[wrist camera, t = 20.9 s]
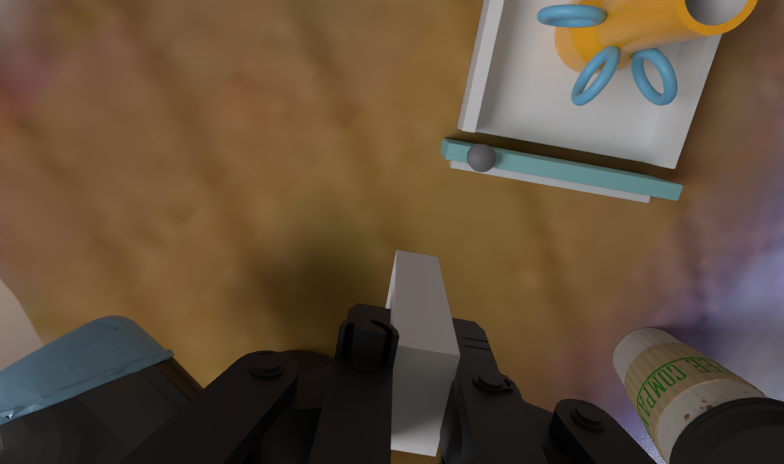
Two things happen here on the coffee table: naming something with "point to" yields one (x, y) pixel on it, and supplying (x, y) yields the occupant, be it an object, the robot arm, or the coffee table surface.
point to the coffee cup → (697, 404)
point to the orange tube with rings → (634, 37)
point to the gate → (557, 169)
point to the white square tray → (553, 96)
